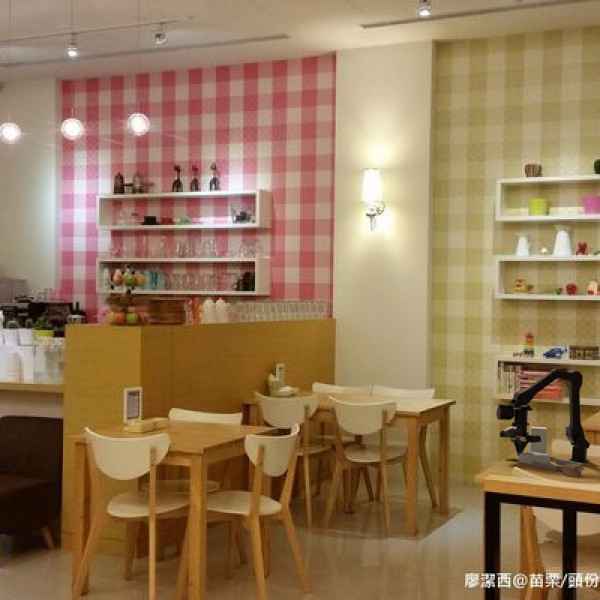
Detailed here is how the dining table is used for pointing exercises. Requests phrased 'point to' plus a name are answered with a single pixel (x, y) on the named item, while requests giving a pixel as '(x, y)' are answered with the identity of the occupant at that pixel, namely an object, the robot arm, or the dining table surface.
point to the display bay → (554, 467)
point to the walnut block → (572, 470)
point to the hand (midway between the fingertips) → (519, 456)
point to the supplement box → (539, 446)
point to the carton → (534, 457)
